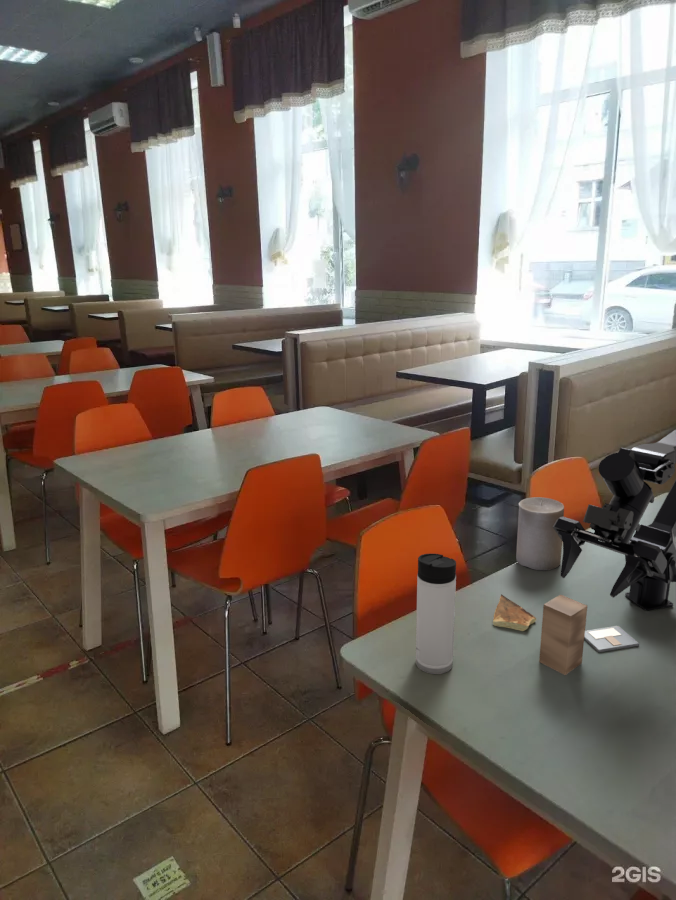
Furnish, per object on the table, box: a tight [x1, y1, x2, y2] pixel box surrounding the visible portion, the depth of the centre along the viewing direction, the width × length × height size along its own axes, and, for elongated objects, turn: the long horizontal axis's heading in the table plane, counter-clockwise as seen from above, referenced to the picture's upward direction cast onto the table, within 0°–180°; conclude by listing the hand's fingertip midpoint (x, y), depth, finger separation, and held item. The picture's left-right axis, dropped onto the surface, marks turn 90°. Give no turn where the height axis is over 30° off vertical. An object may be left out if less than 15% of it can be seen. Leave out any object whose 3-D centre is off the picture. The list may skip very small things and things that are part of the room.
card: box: [584, 625, 640, 653], centre depth 119 cm, size 8×6×1 cm
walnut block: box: [538, 594, 588, 676], centre depth 111 cm, size 5×5×11 cm
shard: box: [492, 594, 537, 632], centre depth 128 cm, size 11×8×2 cm
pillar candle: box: [515, 496, 565, 571], centre depth 148 cm, size 10×10×15 cm
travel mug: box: [415, 553, 457, 675], centre depth 110 cm, size 6×7×20 cm
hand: (586, 586), depth 113 cm, fingers open, 9 cm apart
